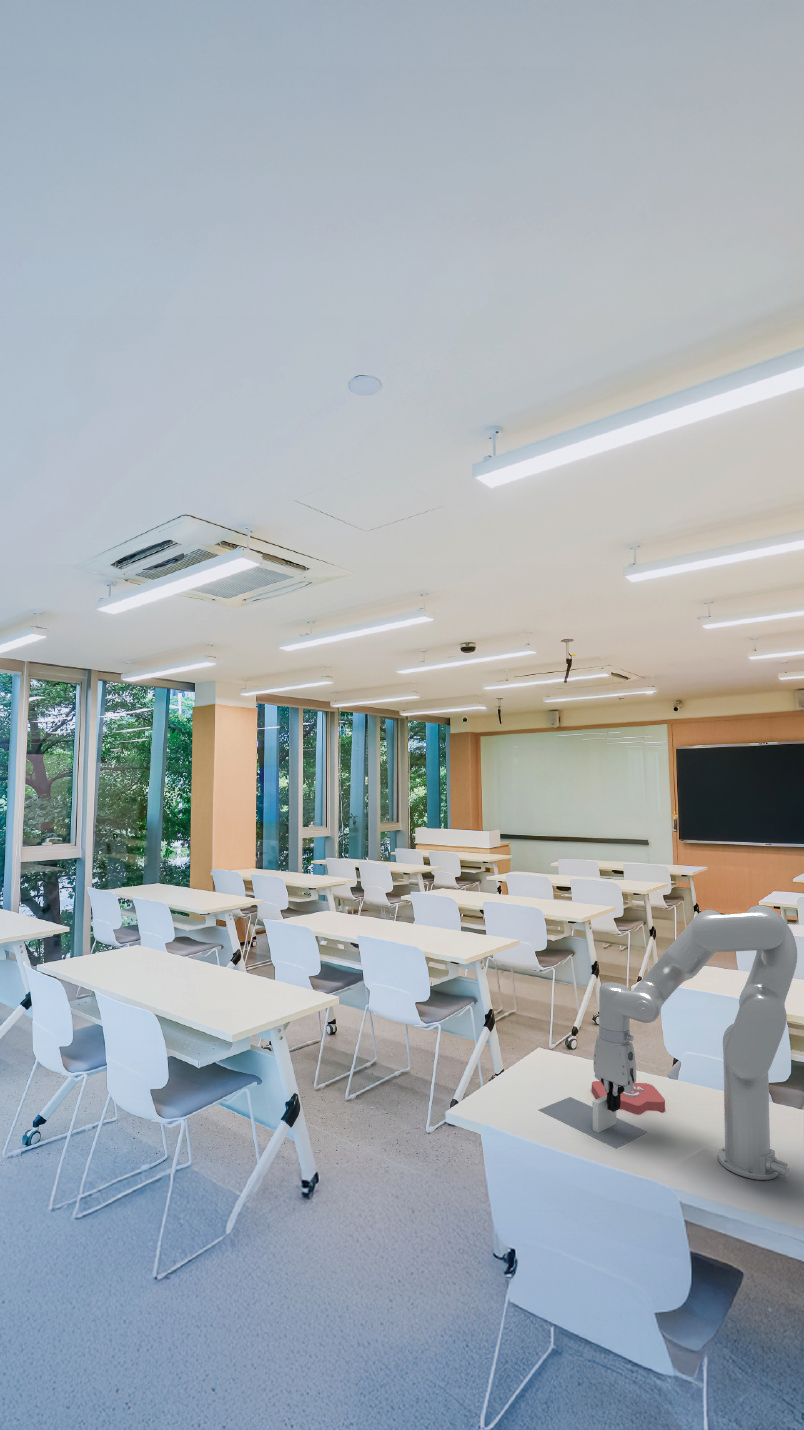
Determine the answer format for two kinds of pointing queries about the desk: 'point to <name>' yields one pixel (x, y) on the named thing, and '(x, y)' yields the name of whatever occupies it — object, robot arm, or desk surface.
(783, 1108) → the desk surface
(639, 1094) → the plaque
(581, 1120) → the tile mat
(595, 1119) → the tile
